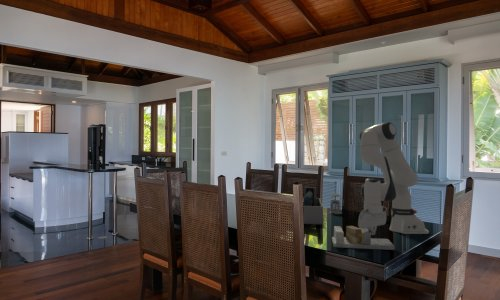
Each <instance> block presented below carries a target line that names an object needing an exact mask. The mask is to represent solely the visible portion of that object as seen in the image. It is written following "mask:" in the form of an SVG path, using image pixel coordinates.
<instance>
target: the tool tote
mask: <svg viewBox="0 0 500 300" xmlns="http://www.w3.org/2000/svg"><path fill="white" fill-rule="evenodd" d="M302 198H303V202H304V197H302ZM303 207H304V224H303V225H324V210H323V209H324V206H323V203H322V200H321V198H319V197H316V206H303Z"/></svg>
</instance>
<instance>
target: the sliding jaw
mask: <svg viewBox="0 0 500 300" xmlns="http://www.w3.org/2000/svg"><path fill="white" fill-rule="evenodd" d="M360 229H361V241H362V243H363V244H371V238H372V235H371V232H370V231H369V230H368V228H365V229H363V228H360Z"/></svg>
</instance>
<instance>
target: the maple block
mask: <svg viewBox="0 0 500 300" xmlns="http://www.w3.org/2000/svg"><path fill="white" fill-rule="evenodd" d="M345 237H346V239H347V240H349V241H352V242H354V243H358V242H361V229H360V228H359V227H357V226H354V225H346V226H345Z"/></svg>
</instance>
